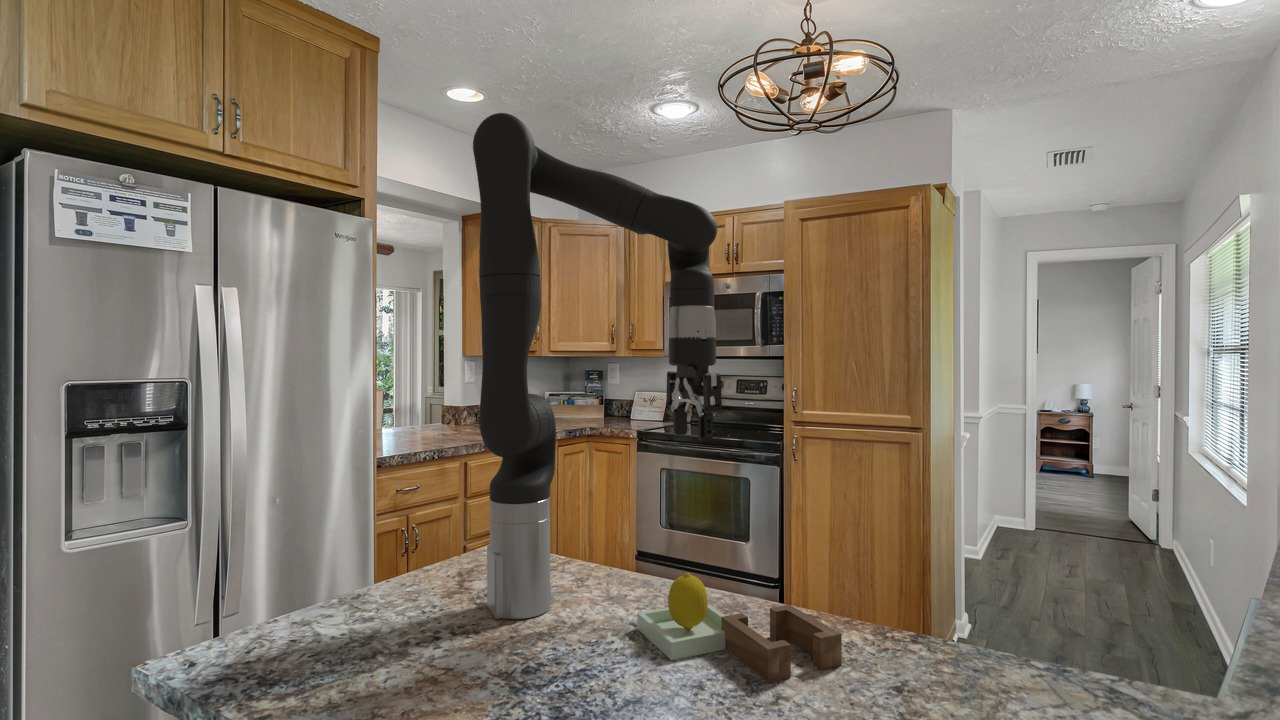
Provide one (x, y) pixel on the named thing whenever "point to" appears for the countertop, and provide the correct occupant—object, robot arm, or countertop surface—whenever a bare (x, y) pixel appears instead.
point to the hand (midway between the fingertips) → (692, 437)
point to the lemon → (687, 601)
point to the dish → (682, 633)
